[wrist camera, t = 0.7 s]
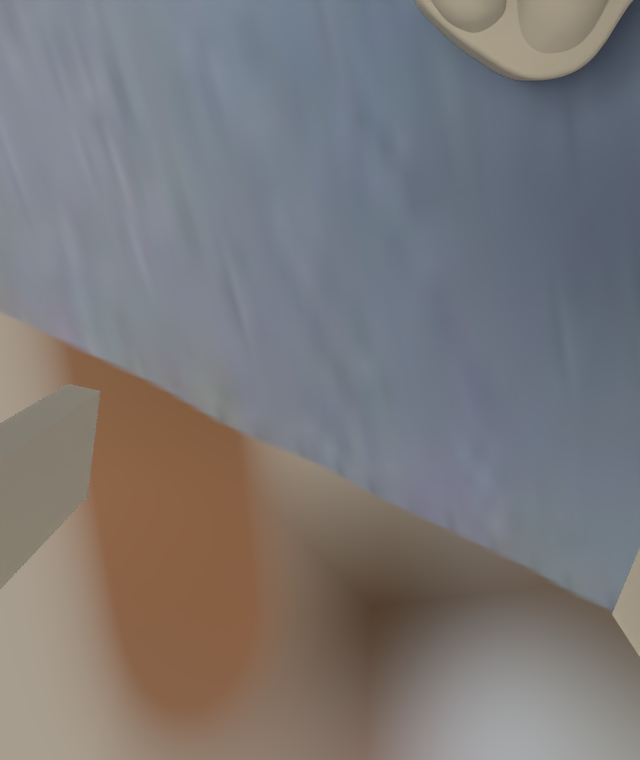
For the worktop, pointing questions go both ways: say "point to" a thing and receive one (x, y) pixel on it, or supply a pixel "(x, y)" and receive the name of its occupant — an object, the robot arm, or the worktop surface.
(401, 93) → the worktop surface
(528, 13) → the lumpy-topped squat cylinder
